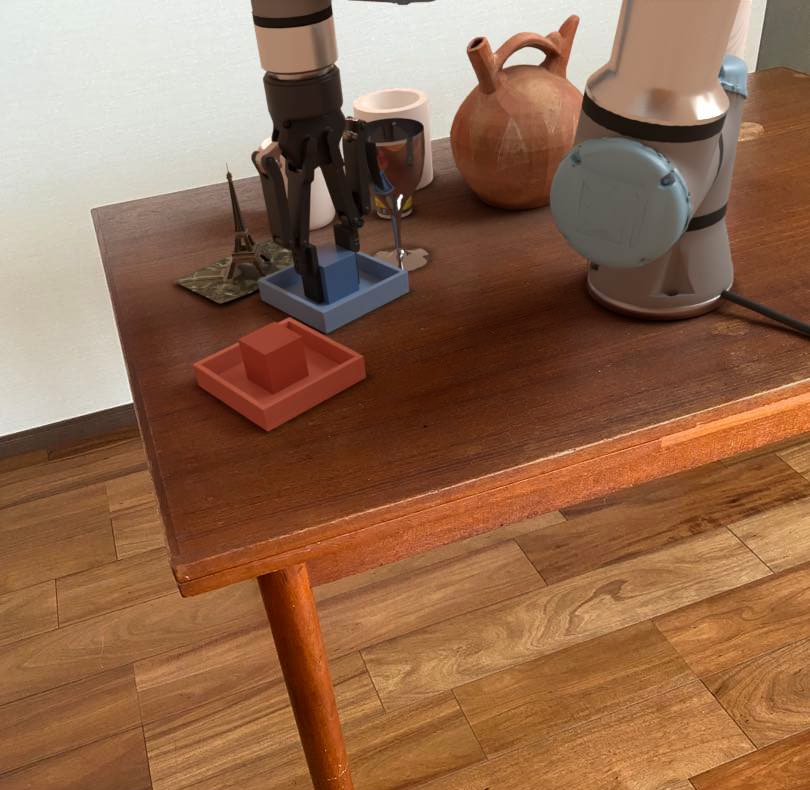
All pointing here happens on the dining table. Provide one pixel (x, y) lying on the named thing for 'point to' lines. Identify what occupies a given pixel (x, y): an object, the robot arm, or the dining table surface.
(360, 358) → the red tray
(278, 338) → the red block
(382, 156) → the wine glass
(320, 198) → the cup
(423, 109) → the mug
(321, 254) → the blue block
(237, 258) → the eiffel tower figurine
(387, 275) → the blue tray
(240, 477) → the dining table surface
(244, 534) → the dining table surface
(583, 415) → the dining table surface
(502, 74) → the jug
